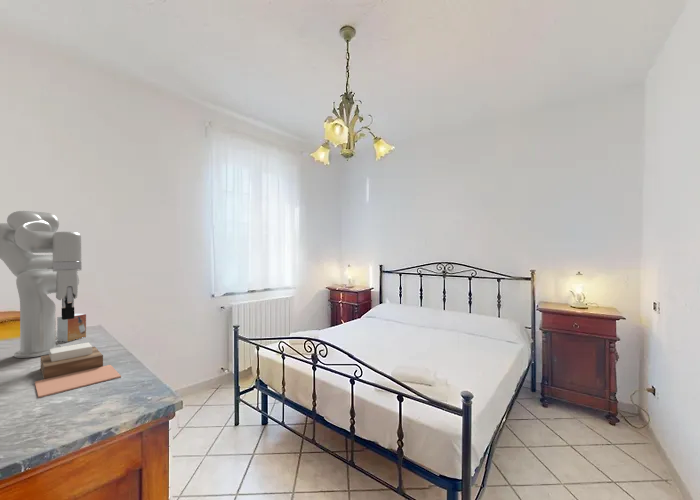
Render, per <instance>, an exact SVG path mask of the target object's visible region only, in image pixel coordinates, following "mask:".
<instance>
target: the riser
mask: <svg viewBox="0 0 700 500" xmlns="http://www.w3.org/2000/svg"><path fill="white" fill-rule="evenodd" d="M102 366H104V355H103V354H102V352H101V351H100V350H98V348H97V347H96V346H92V354H89V355H84V356H79V357H73V358H68V359H63V360H58V361H53V362H52V361H51V359H50V357H49V354H47V355H42V356H40V371H41V375H42V377H43V380H44V379H48V378H53V377H57V376H62V375H66V374H71V373H75V372H80V371H84V370H89V369H93V368H98V367H102Z"/></svg>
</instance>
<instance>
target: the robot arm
mask: <svg viewBox="0 0 700 500" xmlns="http://www.w3.org/2000/svg"><path fill="white" fill-rule="evenodd" d="M6 222H7V223H6ZM6 222H5V223H3V222H2V223H1V222H0V259H1V260H2V262H3V263H4V264H5V266H6V267H7V268H8V269H9V271H10V272H11V274H13V275H14V276H15V277H16V279H15V282H16V289H17V292H18V297H19V313H20V314H19V315H20V317H19V324H20V326H19V330H20V331H19V334H20V335H19V337H20V338H19V339H20V340H19V341H20V342H19V344H20V345H19V347H20V349H19V350H17V351H15V352H14V353H13V356H14V358H16V359H28V358H37V357H41V356H46V355H49V349H53V348H58V347H62V345H60V344H56V343H57V342H56V341H57V336H56V331H57V330H56V329H57V328H56V325H57V323H56V319H57V318H56V303H55V302H54V300H53V299H51V297H49V296H48V295H50V294H55V298H56V299H57V300H58V301H61V317H62V320H66V319H73V318H74V314H75V300H76V299H77V298H78V289H79V288H78V287H79V285H80V278H79V275H78V272H80V271H82V270H83V269H82V267H83V266H82V235H81V233H79V232H76V231H58V230H59V227H60V222H59V219H58V217H57V216H56V215H55V214H53V213H50V212H42V211H33V210H32V211H30V210H17V211H13V212H12V213H10V214H9V215H8V216H7V218H6ZM43 253H44V254H43ZM47 253H48V254H47ZM50 253H51V254H50Z"/></svg>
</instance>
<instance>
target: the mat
mask: <svg viewBox="0 0 700 500" xmlns="http://www.w3.org/2000/svg"><path fill="white" fill-rule="evenodd" d="M119 378H122V375H121V374H120V373H119V372H118V371H117V370H116V368H114V366H112V365H111V364H106V365H103V366H102V367H98V368H93V369H89V370H84V371H80V372H75V373H71V374H66V375H62V376H57V377H53V378H48V379H44V378H43V379H40V380H36V381H34V385H35V389H36V394H37V397H38V399H39V398H44V397H47V396H51V395H55V394H60V393H63V392H67V391H71V390H76V389H80V388H84V387H88V386H91V385H95V384H99V383H103V382H106V381H107V382H108V381H110V380H116V379H119Z"/></svg>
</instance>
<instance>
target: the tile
mask: <svg viewBox="0 0 700 500" xmlns="http://www.w3.org/2000/svg"><path fill="white" fill-rule="evenodd" d="M92 347H93V345H92V344H91V343H90V342H89V341H88V342H82V343H77V344H72V345H70V344H69V345H65V346H61V347H58V348H53V349H49V354H48V355H49V357H50V359H51V361H52V362H53V361H58V360H63V359H68V358H73V357H79V356H84V355H89V354H92Z"/></svg>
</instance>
